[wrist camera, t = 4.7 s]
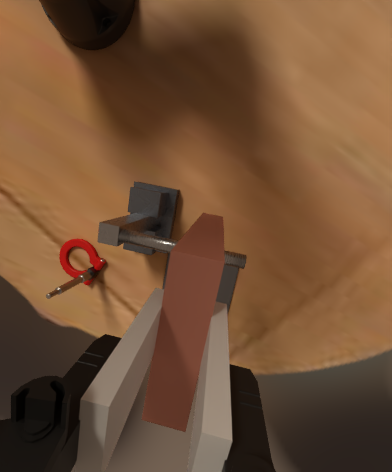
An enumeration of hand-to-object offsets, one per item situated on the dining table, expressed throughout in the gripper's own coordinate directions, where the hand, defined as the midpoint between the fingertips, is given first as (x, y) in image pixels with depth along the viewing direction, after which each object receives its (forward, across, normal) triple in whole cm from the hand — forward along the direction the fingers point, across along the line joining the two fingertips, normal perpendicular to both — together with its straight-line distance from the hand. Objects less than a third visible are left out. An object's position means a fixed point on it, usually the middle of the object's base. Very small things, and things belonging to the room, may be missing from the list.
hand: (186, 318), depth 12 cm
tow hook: (+31, -25, -12) cm, 42 cm away
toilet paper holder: (+31, -5, 0) cm, 31 cm away
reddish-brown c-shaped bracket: (+15, 0, -1) cm, 16 cm away
